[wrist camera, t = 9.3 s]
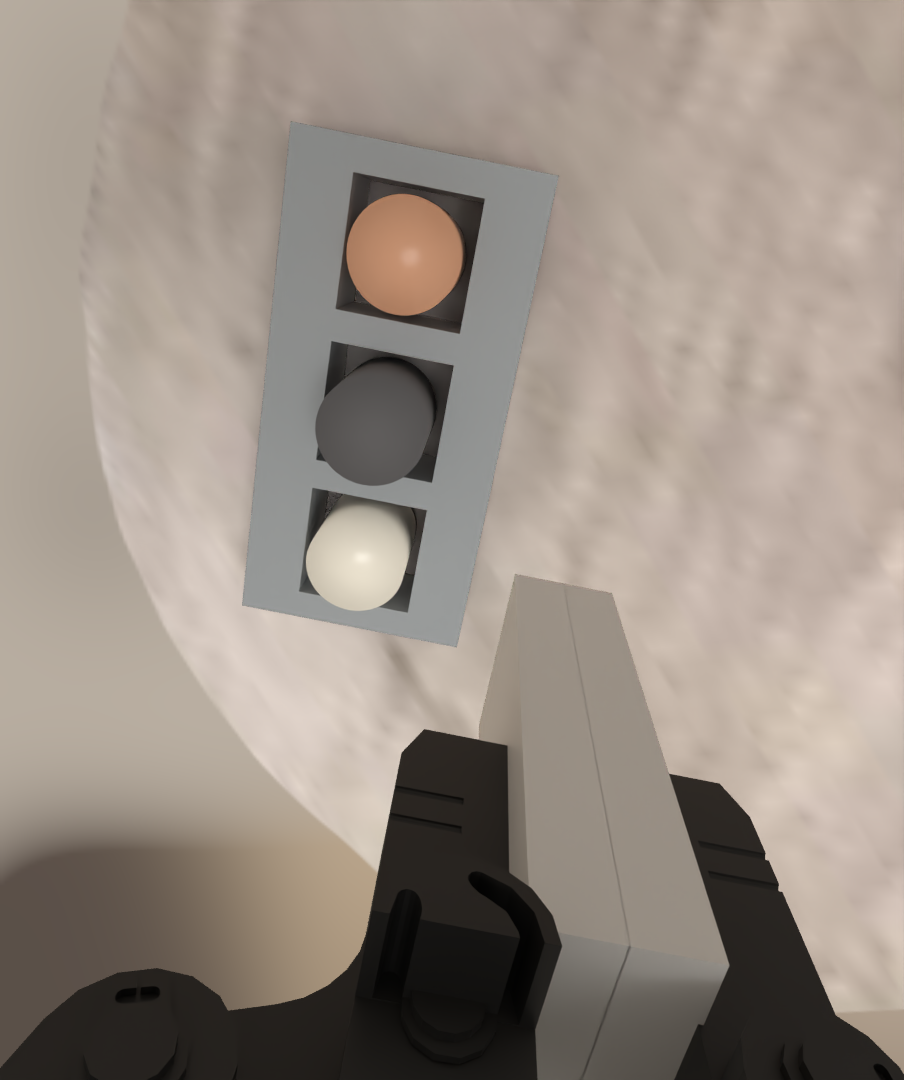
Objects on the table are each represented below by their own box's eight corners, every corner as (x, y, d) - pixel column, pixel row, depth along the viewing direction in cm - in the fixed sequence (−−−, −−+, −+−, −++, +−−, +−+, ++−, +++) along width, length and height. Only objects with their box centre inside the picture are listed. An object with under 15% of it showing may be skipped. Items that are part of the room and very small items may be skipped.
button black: (347, 348, 40) (322, 365, 34) (444, 367, 40) (435, 388, 34) (334, 442, 42) (309, 474, 36) (427, 461, 42) (416, 495, 36)
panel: (315, 135, 39) (290, 121, 34) (551, 183, 39) (558, 175, 35) (267, 569, 48) (242, 605, 43) (461, 607, 48) (456, 647, 43)
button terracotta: (376, 191, 39) (355, 183, 33) (474, 211, 39) (470, 206, 33) (361, 294, 41) (339, 303, 35) (456, 313, 41) (448, 325, 35)
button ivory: (336, 476, 44) (312, 510, 39) (423, 494, 44) (411, 530, 39) (324, 557, 46) (300, 600, 41) (408, 573, 46) (395, 619, 41)
